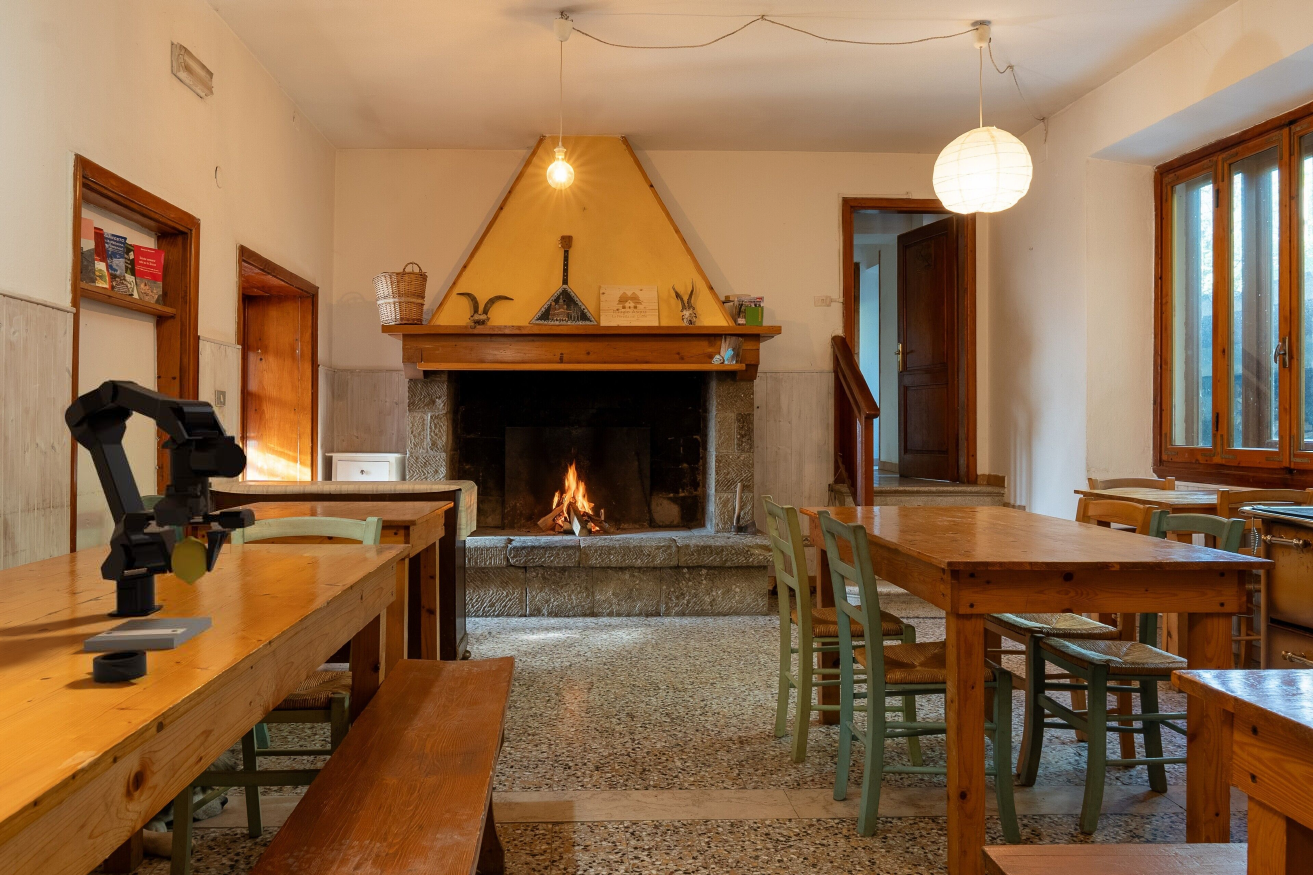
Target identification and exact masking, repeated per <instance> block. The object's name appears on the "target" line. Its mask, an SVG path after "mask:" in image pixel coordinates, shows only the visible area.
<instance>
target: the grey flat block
mask: <svg viewBox="0 0 1313 875" xmlns="http://www.w3.org/2000/svg"><path fill="white" fill-rule="evenodd" d="M211 627H212V616H197V617H196V616H195V617H165V618H140V619H139V618H137V619H135V618H133V619H129V620H126V621H124V622H123V623H120V624H118V625H115V626H113V627H111V628H109V629H107V630H105V631H103V632H100V633H99V634H97V635H94V636H92V637H90V638H88V639H86V640H84V641H83V652H85V653H86V652H88V653H89V652H109V651H110V652H117V651H126V650H141V651H145V650H164V649H166V650H167V649H168V650H169V649H171V650H172V649H175V648H177V647H178V646H181V645H182V644H184V643H185V642H187V641H190V640H191V639H192V638H193V639H194V637H196V636H197V635H199V634H201V633H203V632H204V631H206V630H208V629H211Z"/></svg>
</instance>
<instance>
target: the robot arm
mask: <svg viewBox="0 0 1313 875" xmlns="http://www.w3.org/2000/svg"><path fill="white" fill-rule="evenodd" d="M134 412H135V413H137V414H140V415H142V416H145V417H147V418H149V419H152V420H153V421H155V426H156V427H157V428H158V429H159V430H161V431H162V432H164V433H165V434H166V435H168V436H169V437H168V438H167V440H165V441H163V443H162V444H161V445H160V447H161V449H162V450H168V460H169V462H168V467H169V468H168V470H169V479H168V480H169V484H166V486H165V493H164V497H162V498H160V499H159V500H158V501H157V502H156V503H155V504H154V505H153V507H152V510H147V509H146V508H145V506H144V502H143V500H142V497H141V494H140V491H139V487H138V485H137V482H136V479H135V477H134V473H133V471H132V468H131V465H130V462H129V460H128V456H127V455H126V452H125V449H124V448H125V447H124V445H123V438H124V436H125V433H126V430H127V426H128V425H127V421H128V420H129V419H130V418H132V416H133V415H134ZM64 422H65V424H66V426H67V427H68V429H69V432H70V433H71V436H72V437H73V440H74V441H76V443H78V444H80V445H81V446H82V447H83V448H84V449H86V450H87V451H88V452H89V454H90V456H91V459H92V461H93V465H94V468H95V470H96V474H97V477H98V479H99V482H100V486H101V488H102V491H103V494H104V497H105V500H106V502H107V506H108V508H109V512H110V514H111V517H112V519H113V522H114V528H113V532H112V535H111V537H110V540H109V547H110V552H109V554H108V555H107V556H106V557H105V560H103V563H102V564H101V565H100V571H101V572H100V573H101V578H102V580H106V581H115V588H116V589H115V595H116V596H115V600H116V609H114V610H112V611H110V612H108V613H107V615H106V616H107V617H119V616H120V617H123V616H124V617H125V616H127V617H128V616H129V617H130V616H148V615H150V614H152V613H155V612H157V611H159V610H161V609H163V608H164V604H156V581H155V576H157V575H166V574H168V573H169V574H174V572H173V570H172V565H171V558H172V553H173V550H174V548H175V546H176V528H175V526H176V527H178V528H180V527H181V528H182V527H186V526H208V525H210V527H211V529H210V530H206V531H205V535H206V538H207V572H206V573H211V572H212V571H213V570H214V567H215V564H216V563H217V560H218V558H219V555H220V553H221V550H222V549H223V545H224V544H225V542H226V540H227V538H228V537H229V535H230V533H232V532H233V533H234V532H235V531H236V532H237V529H238V530H239V529H247V528H249V527H252V526H255V524H256V514H255V512H254V511H253V510H252V508H229V509H224V510H221V511H219V513H213V506H210V489H213V486H212V481H210V479H212V478H214V479H234V478H237V477H239V476H240V475H241V474H242V473H243V472H244V470H245V469H246V466H247V461H248V460H247V459H248V458H247V455H246V454H245V451H244V449H243V448H242V446H241V445H239V444H237V443H236V436H235V435H228V433H227V430H226V429H225V428H224V426H223V424H222V423H221V421H220V418H219V417H218V415H217V413H216V412H215V410H214V406H213V405H212V403H210V402H209V401H205V400H198V399H197V400H196V399H183V398H175V397H171V396H169V395H166V394H164V393H161V392H159V391H157V390H153V389H150V388H148V387H145V386H144V385H140V384H139V383H137V382H135V381H133V380H117V379H109V380H105V381H103V382H102V383H101V384H100V385H99V386H97V387H96V388H95V389H93V390H90V391H88V392H86V393H84V394H82V395H80V396H78V397H76V399H75V400H74V401H73V402H72V403H71V404H70V405H69V406H68V407H67V408H66V410H65V412H64ZM170 527H171V528H170ZM172 527H174V528H172Z"/></svg>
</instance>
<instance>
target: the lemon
mask: <svg viewBox="0 0 1313 875" xmlns="http://www.w3.org/2000/svg"><path fill="white" fill-rule="evenodd" d="M207 548H208V546H206V544H205V543H204V542H203V541H202V540H200V539H197V538H195V537H194V536H191V535H189V536H187V537H186V538H185V539H182V540H181V541H179V542H178V543H177V544H175V548H174V550H173V553H172V558H171V565H172V570H173V574H174V575H175V577H176V578H177V579H179V580H181V581H182V582H183V581H184V582H185V583H186V584H187V585H189V586H192V585H194V584H195V583H196V582H197V581H198V580H200V579H202V578H203V577H204V576H206V573H208V572H207Z"/></svg>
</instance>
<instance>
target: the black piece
mask: <svg viewBox="0 0 1313 875" xmlns="http://www.w3.org/2000/svg"><path fill="white" fill-rule="evenodd" d="M147 661H148V660H147V652H146V651H145V650H116V651H110V652H108V653H103V654H100V655H96V656H95V657H93V658H92V681H93V682H94V683H97V684H117V683H123V682H129V681H134V680H137V679H141V678H144V677H145V676H148V674H147V673H148V670H147V669H148V668H147Z"/></svg>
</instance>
